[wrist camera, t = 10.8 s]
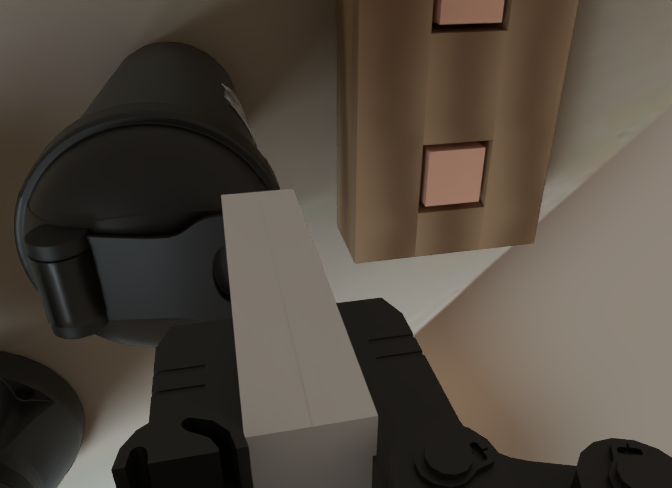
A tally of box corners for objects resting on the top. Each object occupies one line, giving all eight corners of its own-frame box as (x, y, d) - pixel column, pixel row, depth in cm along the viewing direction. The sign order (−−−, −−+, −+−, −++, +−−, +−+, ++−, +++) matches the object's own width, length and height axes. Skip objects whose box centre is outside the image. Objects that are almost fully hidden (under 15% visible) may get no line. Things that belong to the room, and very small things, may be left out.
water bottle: (255, 169, 43) (307, 376, 23) (111, 182, 41) (33, 419, 21) (243, 24, 38) (295, 130, 18) (78, 32, 36) (-64, 158, 16)
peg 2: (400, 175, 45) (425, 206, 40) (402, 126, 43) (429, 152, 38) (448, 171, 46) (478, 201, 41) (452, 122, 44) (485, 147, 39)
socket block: (337, 226, 46) (355, 263, 41) (336, -127, 35) (361, -137, 30) (498, 210, 49) (533, 243, 44) (547, -124, 37) (603, -133, 32)
